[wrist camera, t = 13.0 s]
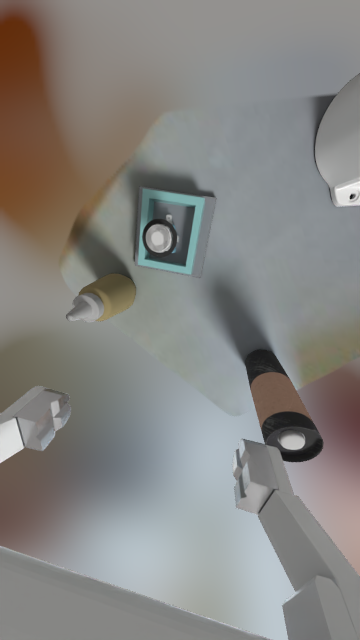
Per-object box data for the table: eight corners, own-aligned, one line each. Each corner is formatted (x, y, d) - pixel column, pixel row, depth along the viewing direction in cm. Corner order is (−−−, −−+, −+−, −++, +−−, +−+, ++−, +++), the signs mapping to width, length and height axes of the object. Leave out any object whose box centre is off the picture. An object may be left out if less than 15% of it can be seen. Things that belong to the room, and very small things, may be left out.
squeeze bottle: (117, 263, 41) (54, 277, 25) (147, 285, 42) (105, 314, 26) (102, 291, 44) (36, 320, 28) (130, 312, 45) (82, 351, 29)
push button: (156, 216, 35) (137, 207, 26) (185, 215, 34) (174, 205, 25) (158, 254, 38) (141, 257, 29) (185, 253, 37) (176, 257, 28)
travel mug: (241, 372, 47) (258, 456, 28) (248, 345, 44) (273, 420, 25) (273, 377, 46) (312, 468, 28) (282, 351, 43) (334, 432, 24)
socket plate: (216, 199, 34) (216, 193, 30) (200, 276, 39) (199, 280, 36) (141, 187, 35) (132, 181, 31) (136, 264, 41) (128, 267, 37)
